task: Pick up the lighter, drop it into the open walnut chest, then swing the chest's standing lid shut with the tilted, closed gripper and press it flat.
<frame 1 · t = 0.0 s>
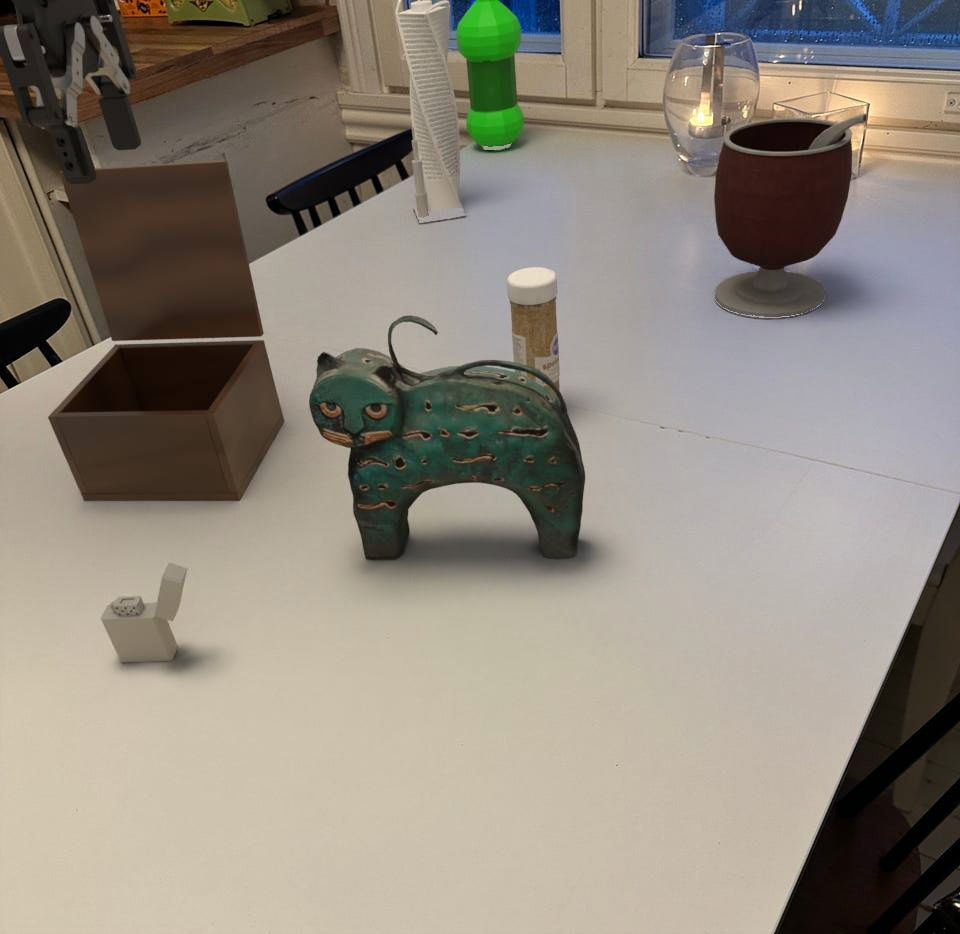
hand: (106, 164, 75), 27 cm above the table, tool pointing down, fingers open, 8 cm apart
lighter: (168, 655, 73), on the table
skyscraper: (442, 212, 144), on the table
chest: (188, 459, 95), on the table
mate gourd: (774, 299, 110), on the table
plastic bottle: (497, 148, 167), on the table
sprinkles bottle: (539, 410, 96), on the table
lid: (165, 256, 89), point 17 cm above the table, hinge at 95.0°
ceramic cat: (466, 547, 80), on the table
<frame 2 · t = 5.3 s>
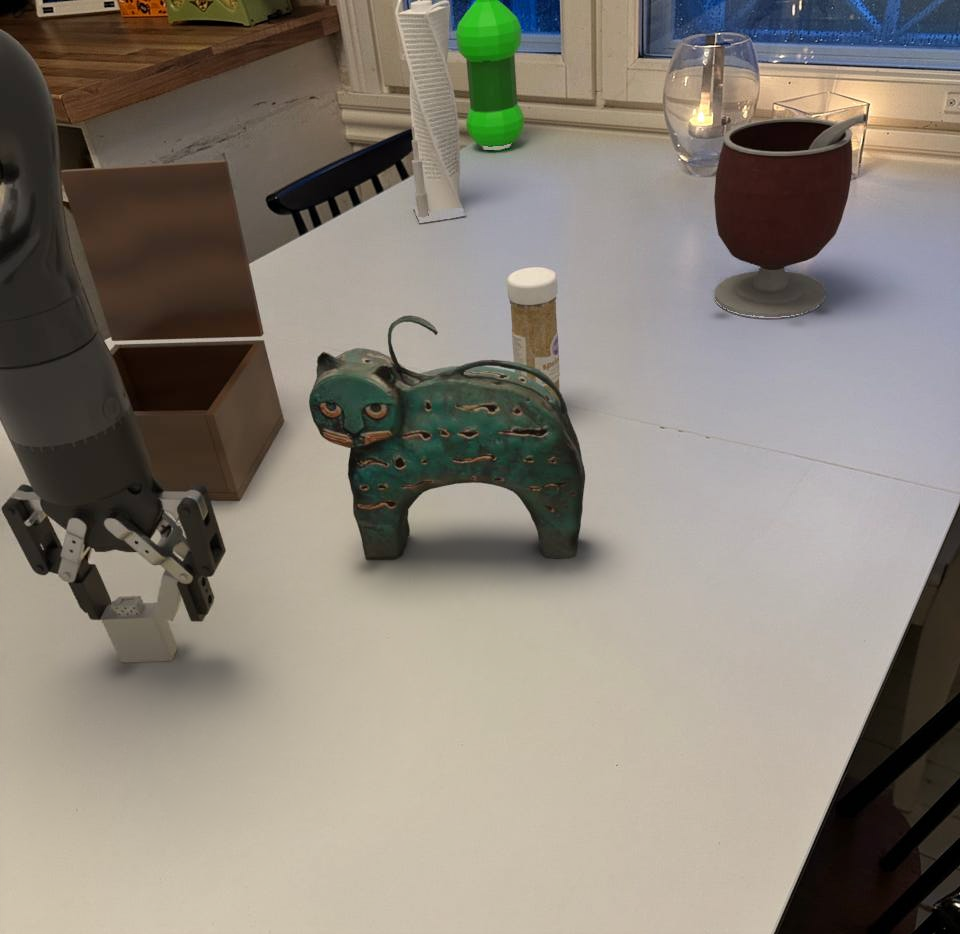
hand: (151, 613, 70), 4 cm above the table, tool pointing down, fingers closed on lighter, 7 cm apart
lighter: (168, 655, 73), on the table, touching gripper
everything else where it was.
when the fingers open (10 cm above the table, at t = 12.9 s): lighter drops 5 cm, resting on chest.
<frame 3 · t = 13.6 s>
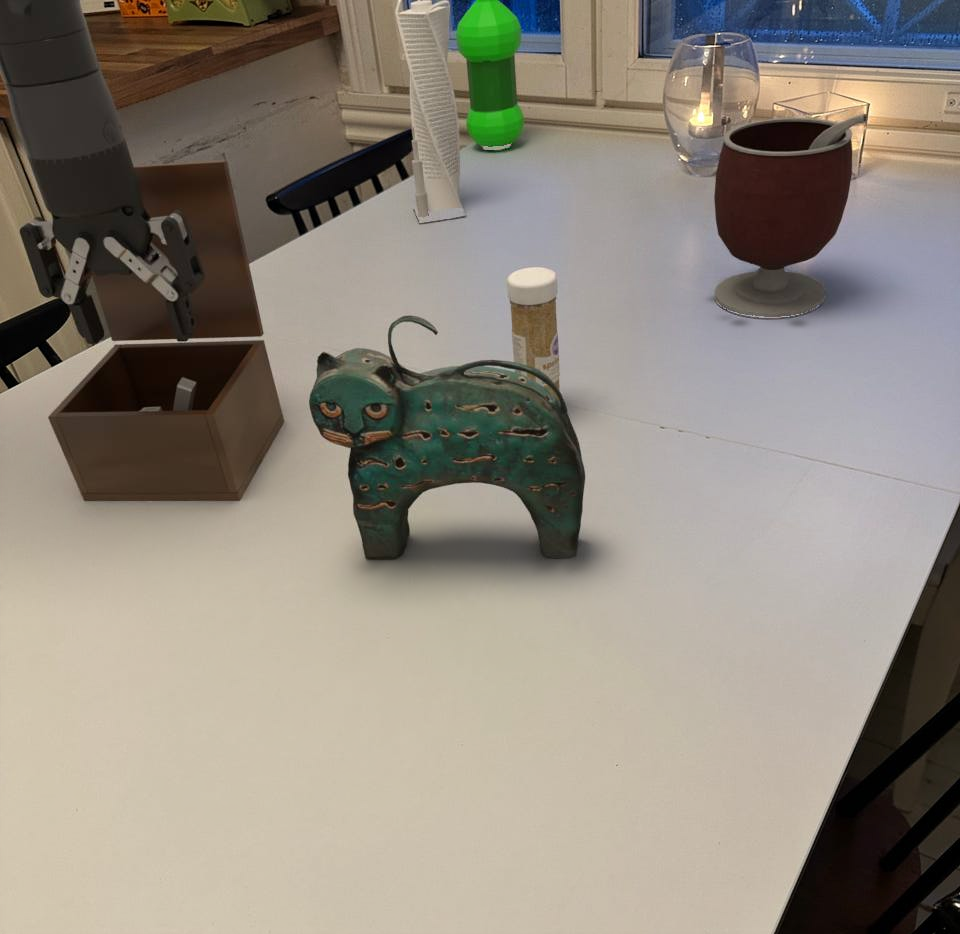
hand: (140, 339, 85), 13 cm above the table, tool pointing down, fingers open, 8 cm apart
lighter: (181, 459, 93), point 1 cm above the table, touching chest
everything else where it was.
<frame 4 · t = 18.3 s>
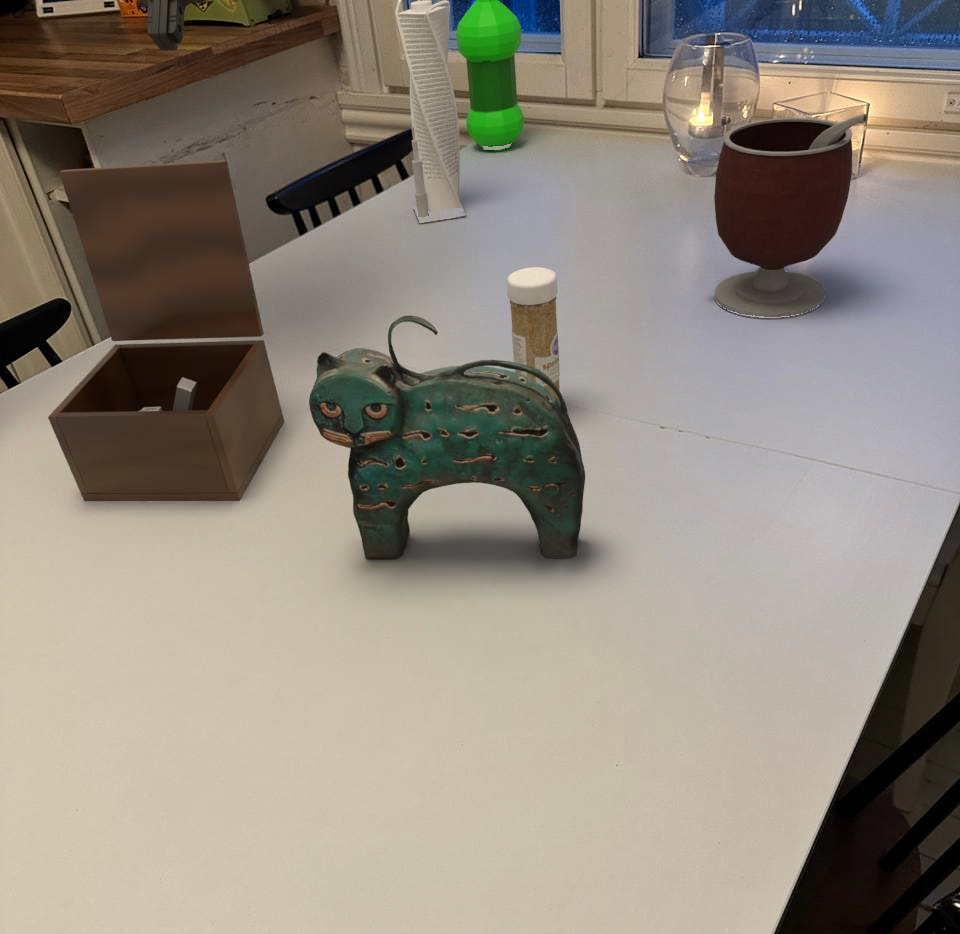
hand: (164, 44, 87), 32 cm above the table, tool tilted 45°, fingers closed
nothing on the table moved.
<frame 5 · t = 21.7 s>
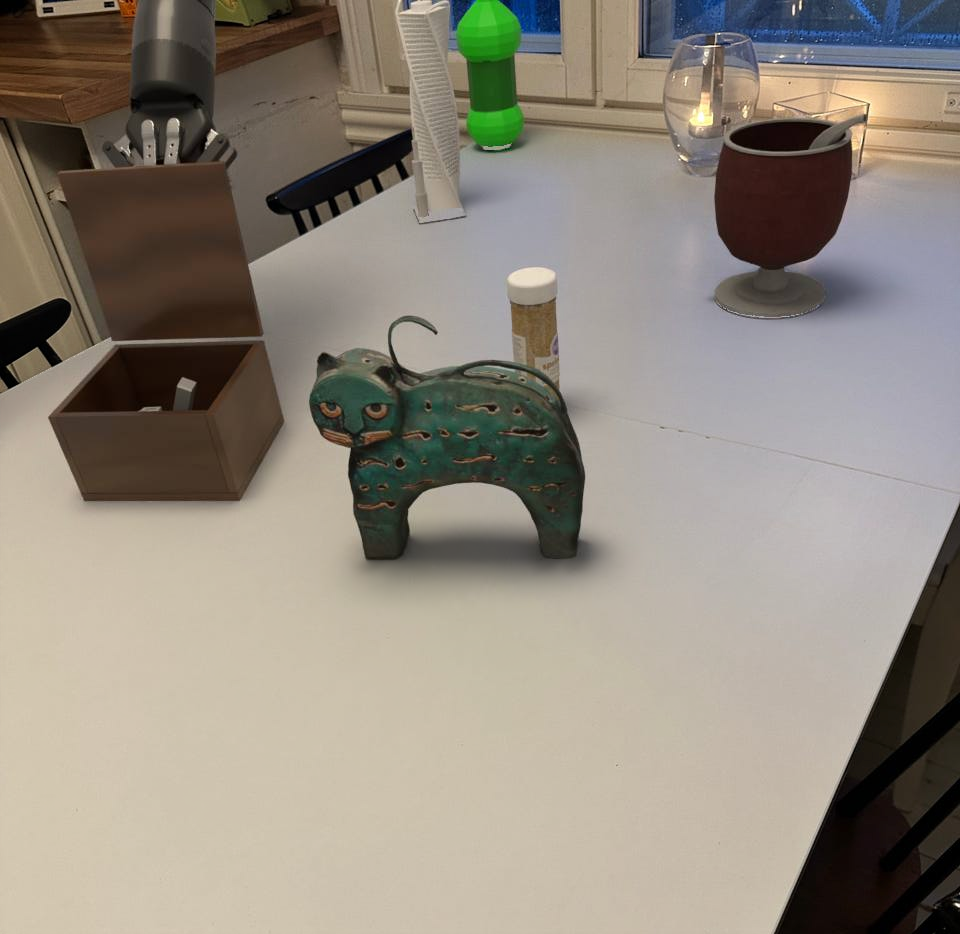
hand: (165, 242, 89), 18 cm above the table, tool tilted 45°, fingers closed
lid: (164, 256, 89), point 17 cm above the table, hinge at 93.2°, touching gripper
everything else where it was.
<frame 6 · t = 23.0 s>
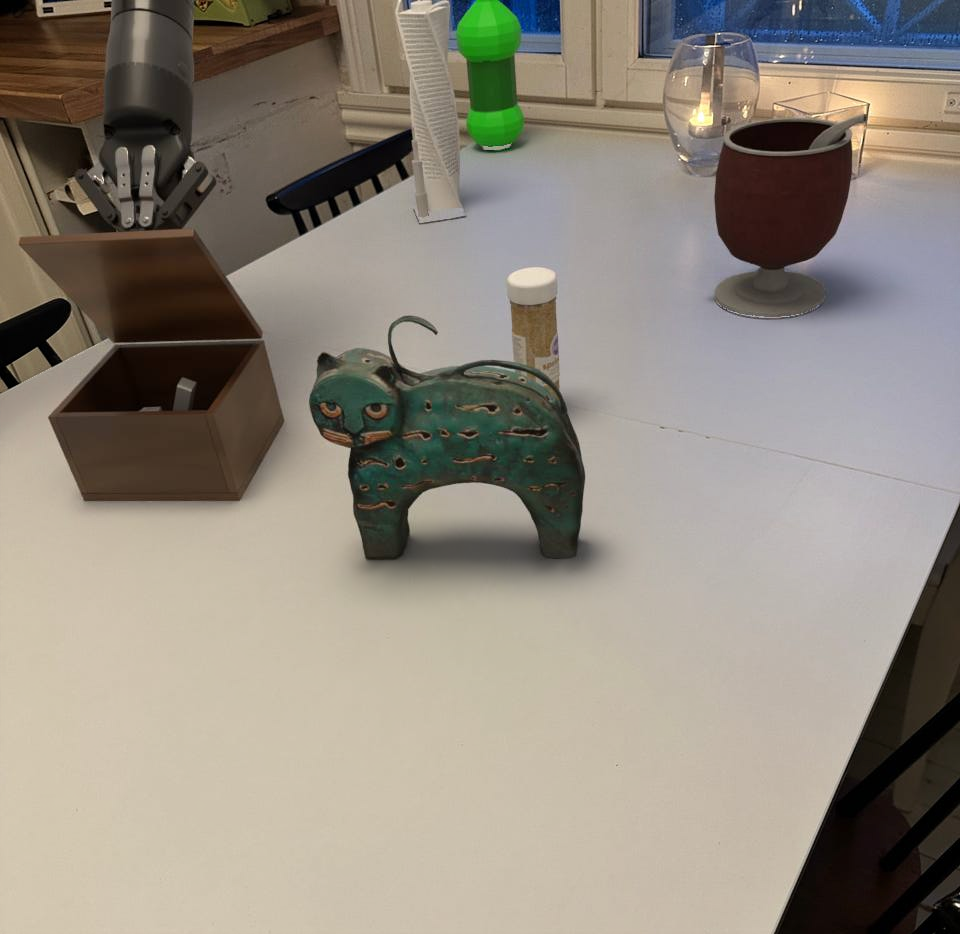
hand: (141, 275, 85), 17 cm above the table, tool tilted 45°, fingers closed
lid: (149, 291, 86), point 16 cm above the table, hinge at 55.7°, touching gripper
everything else where it was.
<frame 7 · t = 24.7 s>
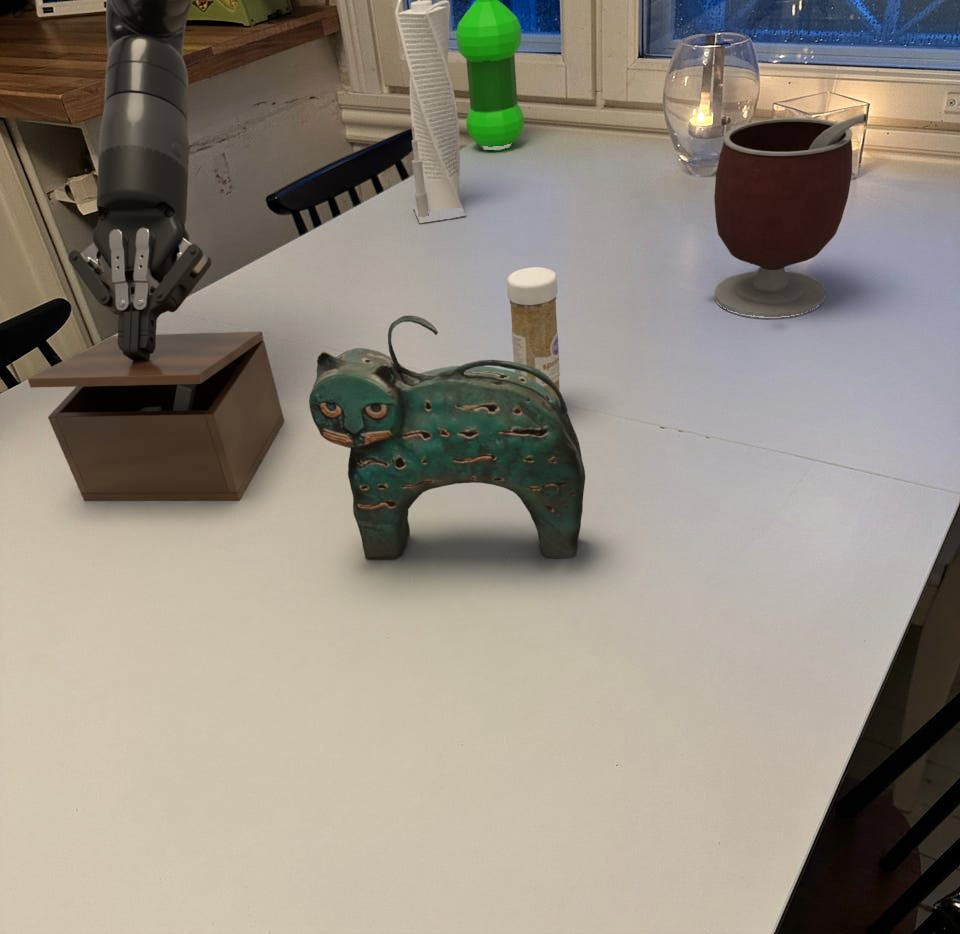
hand: (135, 357, 84), 12 cm above the table, tool tilted 45°, fingers closed
lid: (152, 357, 87), point 11 cm above the table, hinge at 11.4°, touching gripper
everything else where it was.
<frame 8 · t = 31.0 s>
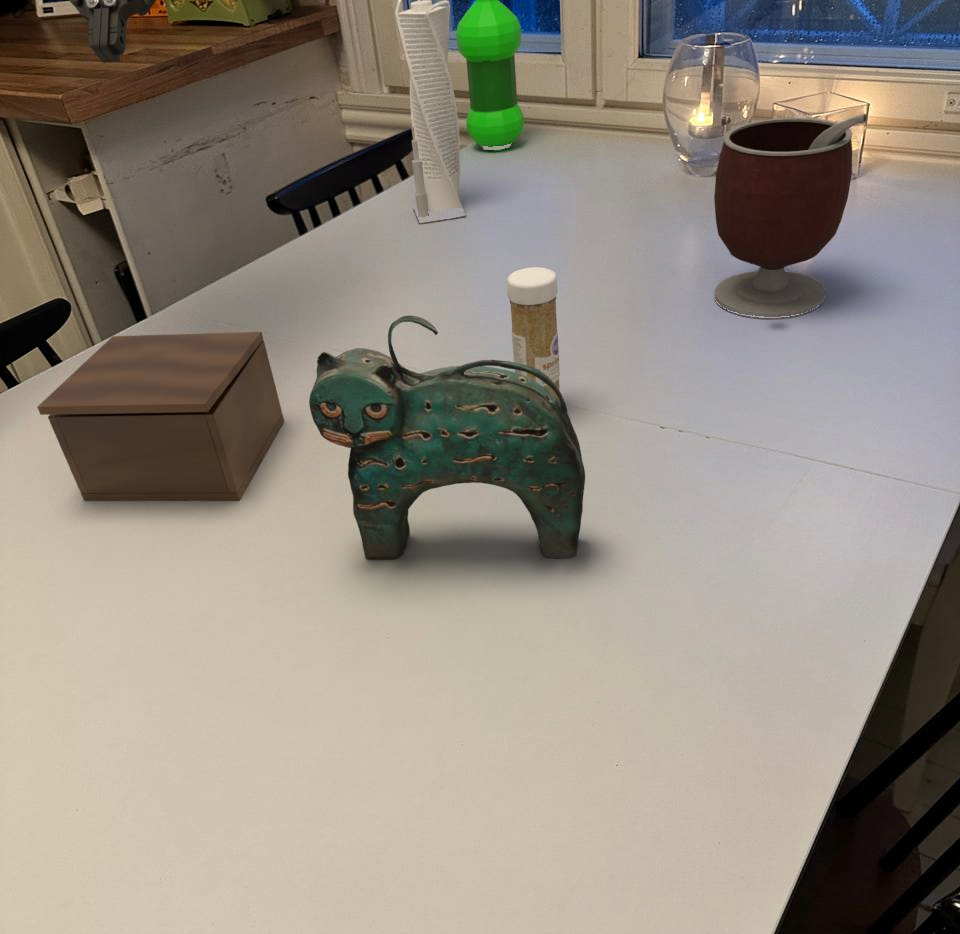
hand: (105, 56, 86), 32 cm above the table, tool tilted 45°, fingers closed
lid: (156, 371, 88), point 10 cm above the table, hinge at 2.2°
everything else where it was.
at the end: lighter inside the target area in the chest (1.1 cm from its centre), point 0.6 cm above the chest's base; lid at +2° (first picture: +95°) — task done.
